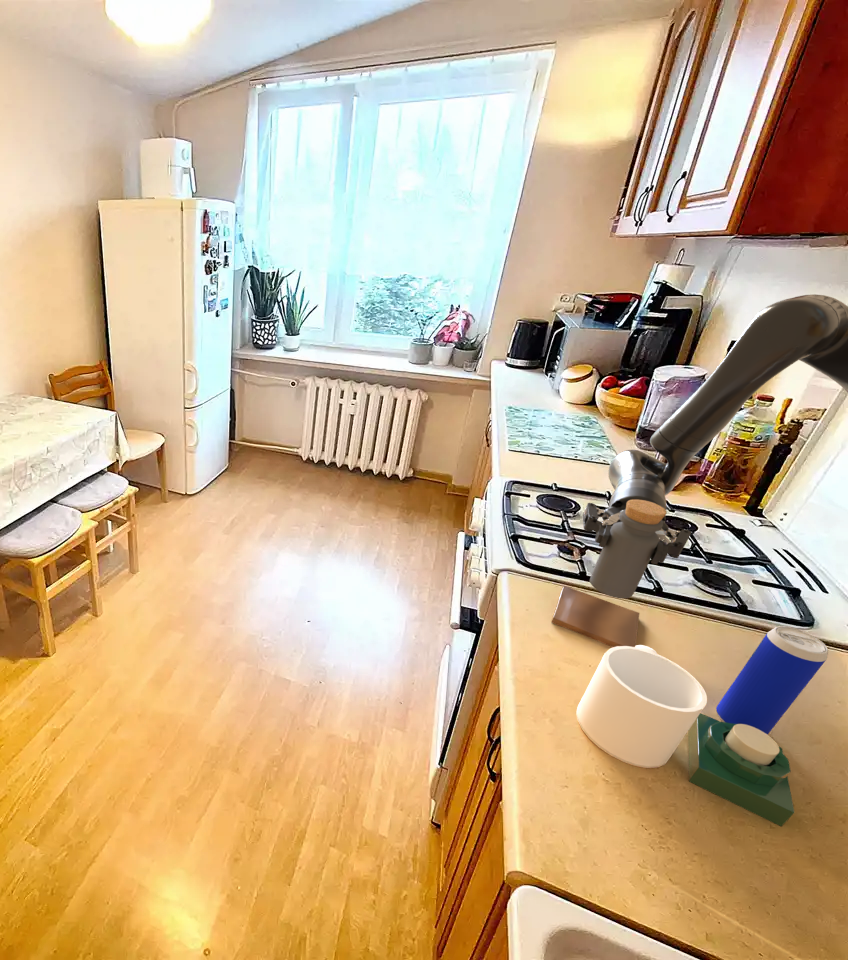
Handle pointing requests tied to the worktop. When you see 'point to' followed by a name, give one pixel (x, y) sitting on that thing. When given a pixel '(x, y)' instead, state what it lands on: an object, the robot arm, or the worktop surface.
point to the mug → (639, 705)
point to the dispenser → (738, 772)
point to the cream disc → (752, 744)
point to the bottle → (628, 549)
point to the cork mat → (596, 618)
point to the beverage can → (772, 678)
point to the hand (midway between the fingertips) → (629, 550)
